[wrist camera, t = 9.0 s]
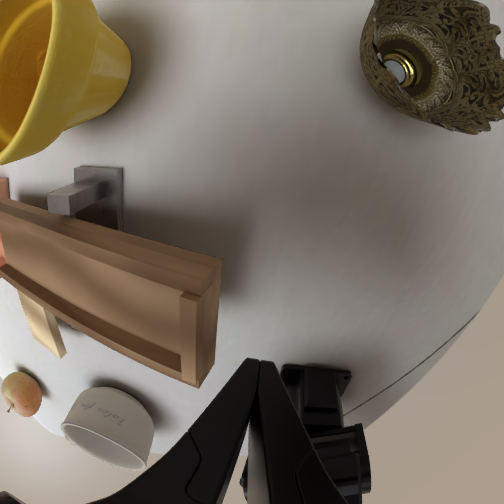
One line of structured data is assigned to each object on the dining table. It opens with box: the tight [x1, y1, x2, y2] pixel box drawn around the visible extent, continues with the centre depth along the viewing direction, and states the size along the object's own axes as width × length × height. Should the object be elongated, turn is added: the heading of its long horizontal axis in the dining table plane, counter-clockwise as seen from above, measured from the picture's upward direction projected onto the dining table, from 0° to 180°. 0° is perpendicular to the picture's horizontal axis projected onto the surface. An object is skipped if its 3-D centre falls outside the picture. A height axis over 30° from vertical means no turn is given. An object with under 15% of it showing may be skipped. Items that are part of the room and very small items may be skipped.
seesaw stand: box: [47, 166, 123, 330], centre depth 19 cm, size 12×4×5 cm, turn 173°
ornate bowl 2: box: [360, 0, 504, 135], centre depth 10 cm, size 8×7×8 cm
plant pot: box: [0, 0, 131, 165], centre depth 11 cm, size 10×10×10 cm
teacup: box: [61, 387, 154, 471], centre depth 27 cm, size 14×11×8 cm
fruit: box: [2, 372, 42, 417], centre depth 30 cm, size 8×7×8 cm
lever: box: [0, 197, 223, 389], centre depth 18 cm, size 15×22×3 cm
